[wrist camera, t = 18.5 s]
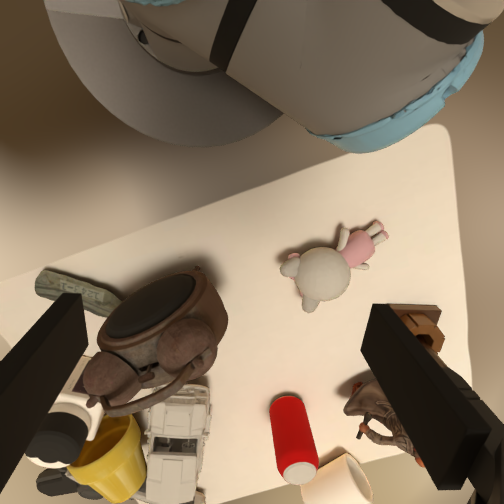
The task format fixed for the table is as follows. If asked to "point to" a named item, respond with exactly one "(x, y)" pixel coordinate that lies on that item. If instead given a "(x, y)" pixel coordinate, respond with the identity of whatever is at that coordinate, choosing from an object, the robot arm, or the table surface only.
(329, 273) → the toy
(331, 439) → the table surface
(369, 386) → the figurine
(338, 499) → the mug
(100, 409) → the container
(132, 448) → the flower pot
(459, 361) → the table surface
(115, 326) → the alarm clock
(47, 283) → the stone
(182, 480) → the toy car
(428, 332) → the ring
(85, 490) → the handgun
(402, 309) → the peg stand
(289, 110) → the robot arm
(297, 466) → the beverage can
